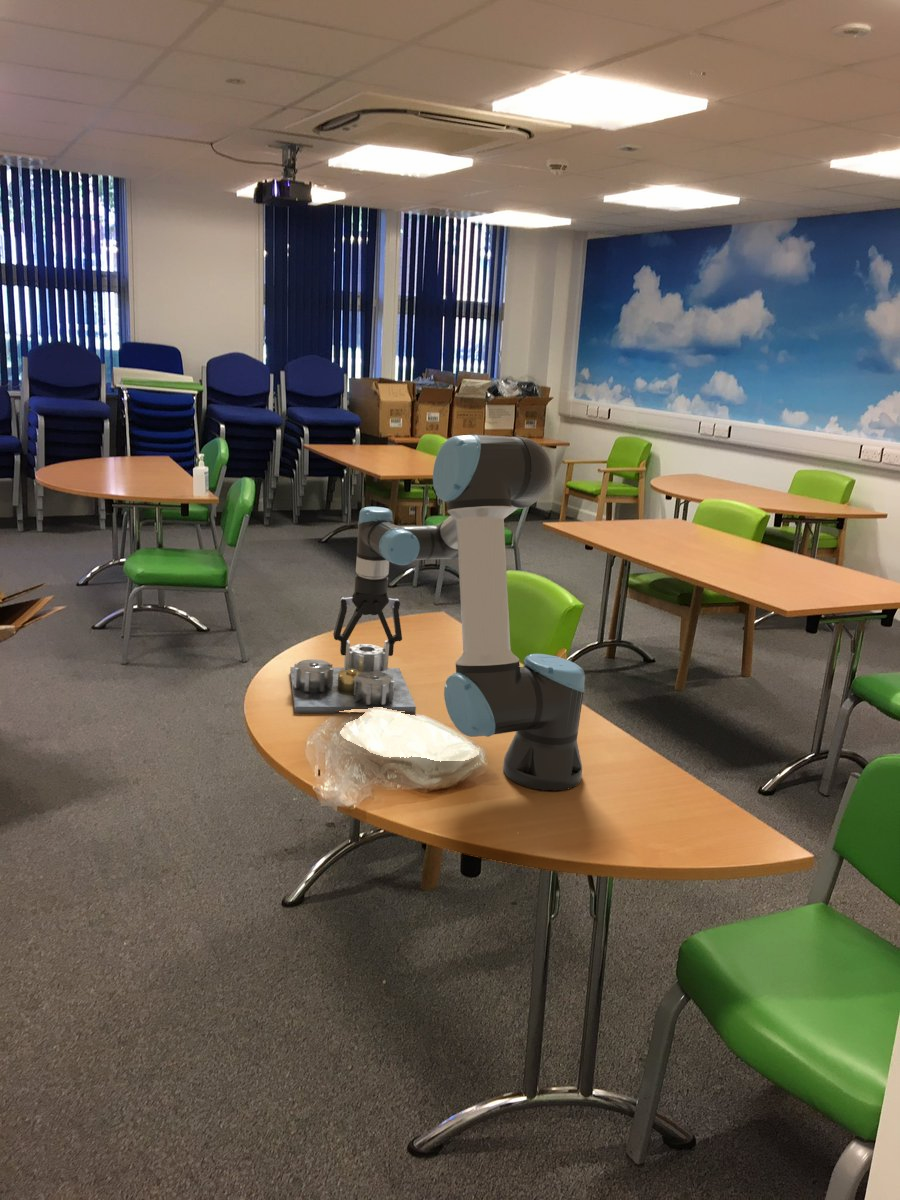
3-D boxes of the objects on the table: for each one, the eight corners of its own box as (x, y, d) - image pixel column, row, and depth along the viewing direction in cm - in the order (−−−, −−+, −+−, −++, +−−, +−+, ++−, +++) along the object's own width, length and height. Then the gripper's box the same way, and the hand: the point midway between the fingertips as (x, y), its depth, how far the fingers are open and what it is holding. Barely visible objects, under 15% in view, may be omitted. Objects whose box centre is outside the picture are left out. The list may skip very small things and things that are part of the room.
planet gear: (385, 675, 215) (387, 655, 214) (349, 675, 213) (350, 655, 212) (381, 663, 223) (382, 643, 222) (345, 662, 221) (347, 642, 220)
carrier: (415, 713, 203) (417, 684, 201) (294, 713, 197) (296, 683, 195) (398, 674, 225) (400, 647, 223) (290, 673, 220) (291, 645, 218)
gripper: (415, 572, 218) (407, 663, 224) (323, 569, 213) (319, 662, 219) (420, 580, 211) (412, 674, 217) (326, 577, 206) (321, 673, 212)
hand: (365, 668), depth 218 cm, fingers closed on planet gear, 8 cm apart
